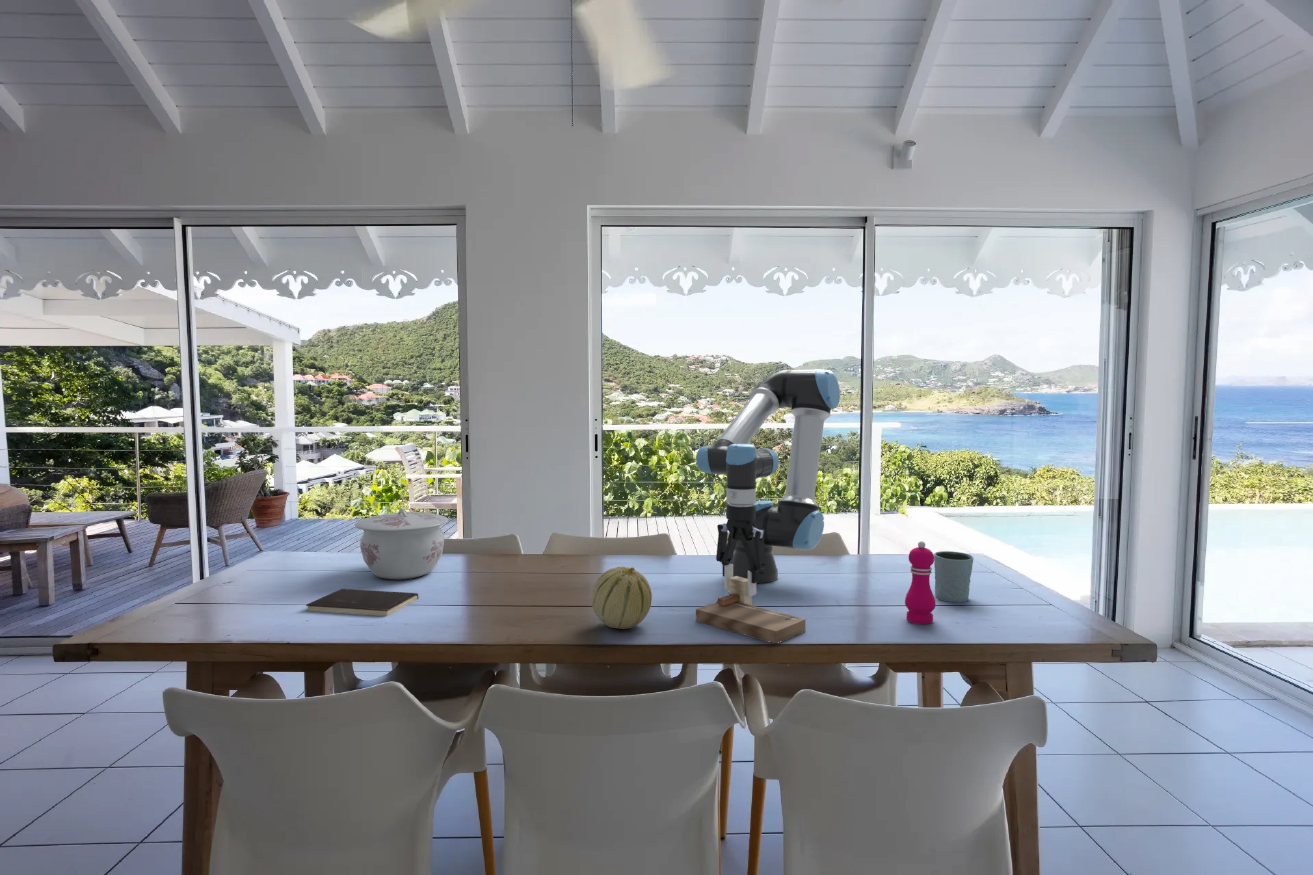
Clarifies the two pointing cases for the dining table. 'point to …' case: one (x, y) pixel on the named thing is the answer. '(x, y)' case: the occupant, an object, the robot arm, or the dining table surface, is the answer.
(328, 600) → the hardcover book
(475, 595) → the dining table surface
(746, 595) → the marking gauge
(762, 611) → the walnut board
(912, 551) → the pepper mill
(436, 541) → the chamber pot
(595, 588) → the cantaloupe
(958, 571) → the green ceramic cup
